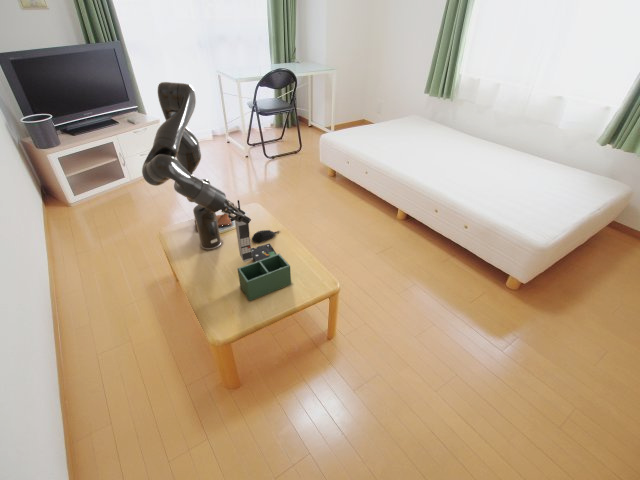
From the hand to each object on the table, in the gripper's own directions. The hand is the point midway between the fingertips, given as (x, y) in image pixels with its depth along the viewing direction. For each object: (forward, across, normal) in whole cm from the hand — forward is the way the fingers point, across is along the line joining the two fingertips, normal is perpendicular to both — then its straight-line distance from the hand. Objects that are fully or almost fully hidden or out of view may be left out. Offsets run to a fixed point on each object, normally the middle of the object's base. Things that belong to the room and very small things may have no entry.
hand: (246, 218), depth 121 cm
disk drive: (+30, +13, +15) cm, 36 cm away
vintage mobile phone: (+11, 0, +14) cm, 18 cm away
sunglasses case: (+23, +53, +23) cm, 62 cm away
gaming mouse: (+36, +29, +10) cm, 47 cm away
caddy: (+25, -4, +20) cm, 32 cm away
